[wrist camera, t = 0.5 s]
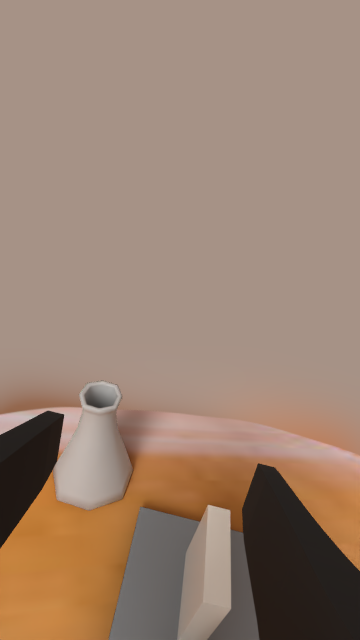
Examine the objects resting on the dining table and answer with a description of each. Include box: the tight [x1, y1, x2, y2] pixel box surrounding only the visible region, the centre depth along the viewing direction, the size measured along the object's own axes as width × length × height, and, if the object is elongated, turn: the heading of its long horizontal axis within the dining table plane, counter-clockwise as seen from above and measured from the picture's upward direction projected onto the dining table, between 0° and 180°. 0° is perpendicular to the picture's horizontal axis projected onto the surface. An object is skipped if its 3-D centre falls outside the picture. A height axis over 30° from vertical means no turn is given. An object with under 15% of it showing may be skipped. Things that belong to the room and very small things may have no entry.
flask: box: [53, 381, 133, 510], centre depth 26 cm, size 7×7×10 cm
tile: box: [177, 505, 231, 640], centre depth 20 cm, size 5×2×7 cm, turn 172°
